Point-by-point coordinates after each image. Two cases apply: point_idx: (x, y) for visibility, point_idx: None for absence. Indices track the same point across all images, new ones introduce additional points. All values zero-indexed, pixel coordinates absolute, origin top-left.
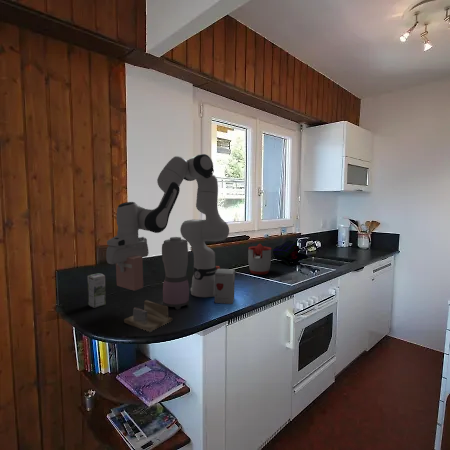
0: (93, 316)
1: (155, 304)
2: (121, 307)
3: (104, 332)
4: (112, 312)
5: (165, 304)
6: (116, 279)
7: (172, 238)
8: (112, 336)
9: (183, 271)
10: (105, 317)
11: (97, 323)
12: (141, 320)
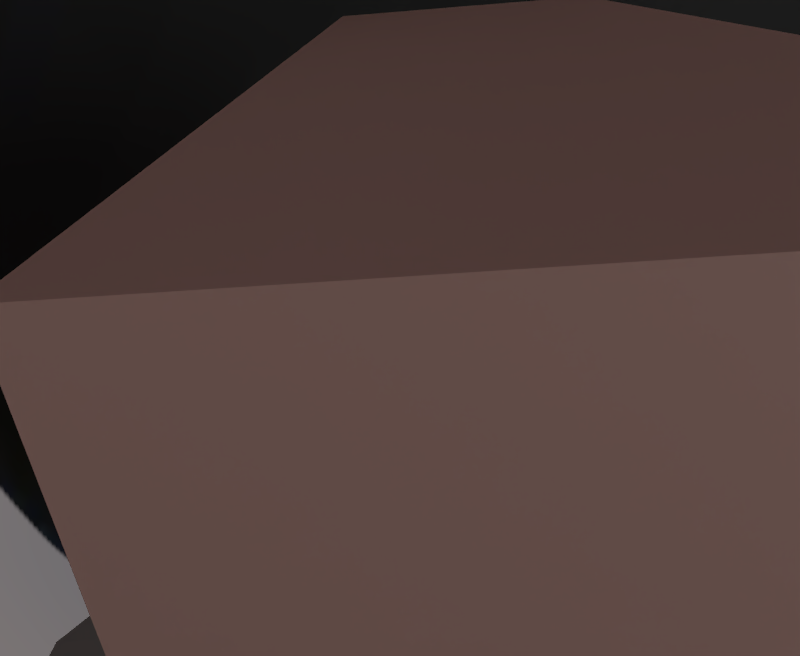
0: (27, 8)
1: None
2: (418, 8)
3: (7, 430)
4: (253, 75)
5: None
6: (328, 28)
7: None
8: (37, 519)
9: None
10: (130, 150)
11: (10, 229)
12: None
